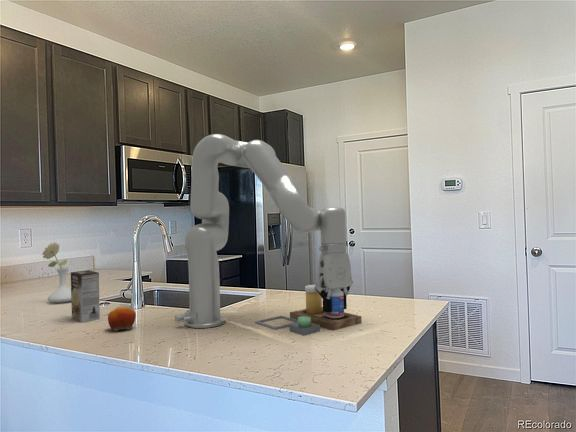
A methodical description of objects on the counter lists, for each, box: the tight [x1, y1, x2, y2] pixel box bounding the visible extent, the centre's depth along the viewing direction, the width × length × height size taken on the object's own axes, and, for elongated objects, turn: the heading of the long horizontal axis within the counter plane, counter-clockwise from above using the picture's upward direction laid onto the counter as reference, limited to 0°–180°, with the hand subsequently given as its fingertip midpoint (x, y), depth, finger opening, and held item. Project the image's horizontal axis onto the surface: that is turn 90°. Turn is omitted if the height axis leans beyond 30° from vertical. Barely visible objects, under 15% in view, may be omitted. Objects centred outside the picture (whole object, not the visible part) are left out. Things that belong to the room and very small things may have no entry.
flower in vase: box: [42, 241, 71, 303], centre depth 177 cm, size 13×11×25 cm
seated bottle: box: [304, 284, 323, 315], centre depth 134 cm, size 5×5×10 cm
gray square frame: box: [254, 315, 298, 331], centre depth 129 cm, size 10×10×2 cm
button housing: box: [289, 322, 321, 336], centre depth 119 cm, size 6×6×3 cm
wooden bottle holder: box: [289, 306, 362, 331], centre depth 131 cm, size 12×19×3 cm, turn 39°
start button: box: [298, 316, 311, 326], centre depth 119 cm, size 4×4×2 cm
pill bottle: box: [326, 288, 345, 318], centre depth 127 cm, size 6×5×10 cm
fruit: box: [107, 306, 137, 332], centre depth 131 cm, size 8×8×8 cm
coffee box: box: [70, 270, 101, 323], centre depth 146 cm, size 9×6×16 cm
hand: (334, 309), depth 127 cm, fingers closed on pill bottle, 5 cm apart
